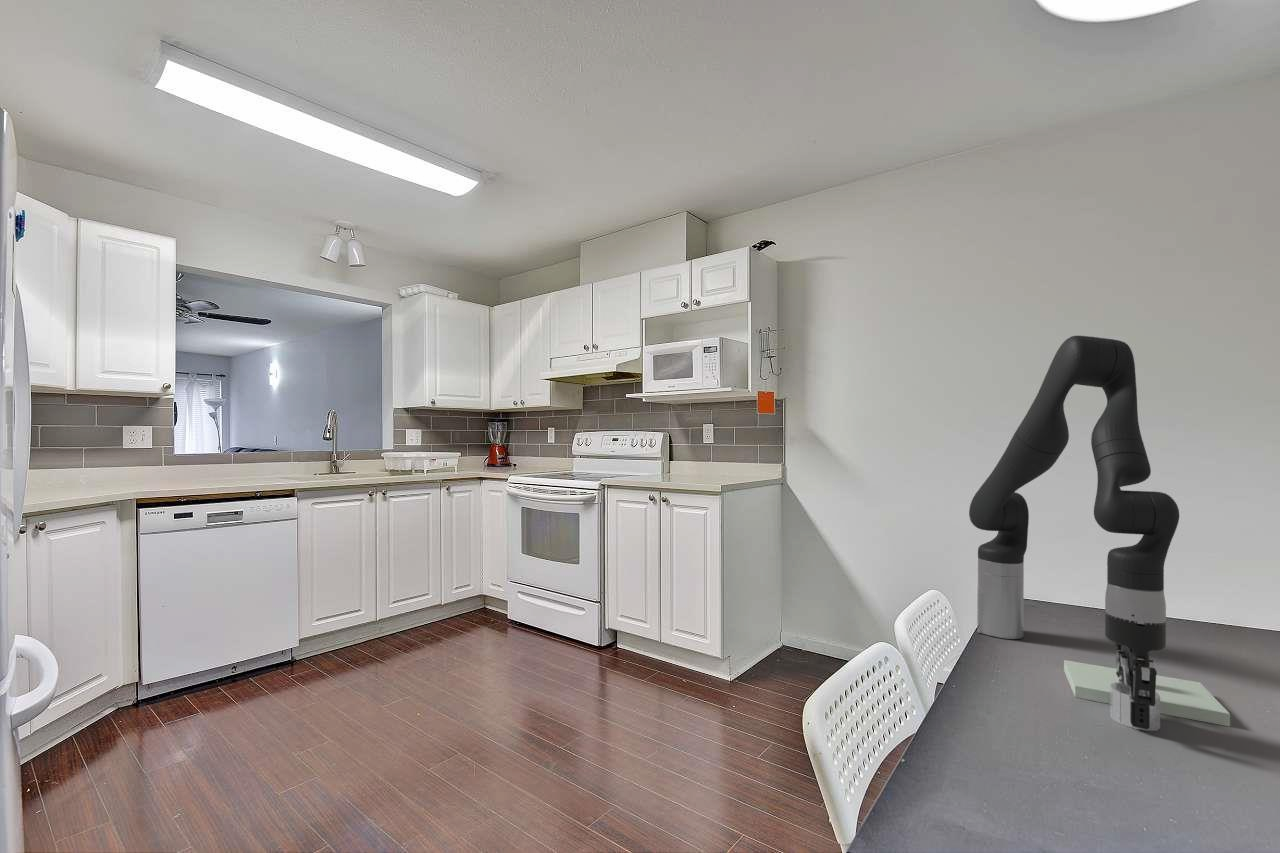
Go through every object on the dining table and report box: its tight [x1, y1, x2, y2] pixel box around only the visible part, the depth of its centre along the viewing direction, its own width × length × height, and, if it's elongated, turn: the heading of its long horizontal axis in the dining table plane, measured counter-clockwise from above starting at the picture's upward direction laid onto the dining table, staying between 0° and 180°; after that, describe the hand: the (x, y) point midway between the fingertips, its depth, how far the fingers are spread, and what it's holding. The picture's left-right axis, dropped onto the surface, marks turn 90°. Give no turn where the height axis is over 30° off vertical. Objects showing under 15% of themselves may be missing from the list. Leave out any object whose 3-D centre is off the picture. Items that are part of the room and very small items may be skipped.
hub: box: [1109, 683, 1161, 732], centre depth 94 cm, size 6×6×5 cm
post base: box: [1063, 659, 1231, 727], centre depth 104 cm, size 20×14×7 cm
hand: (1134, 717), depth 94 cm, fingers closed on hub, 6 cm apart
